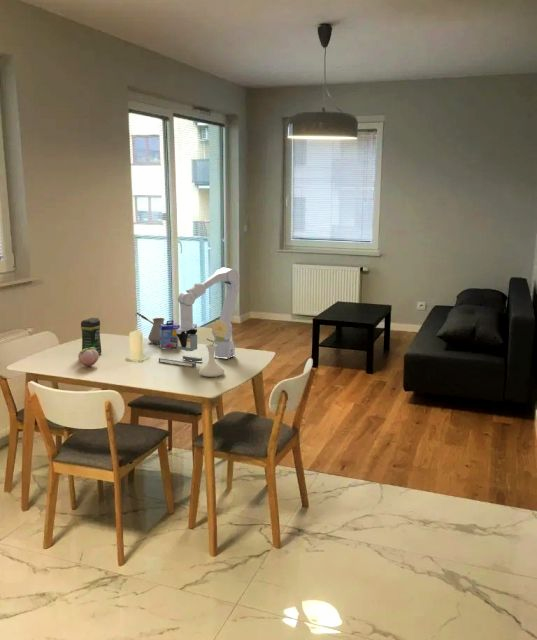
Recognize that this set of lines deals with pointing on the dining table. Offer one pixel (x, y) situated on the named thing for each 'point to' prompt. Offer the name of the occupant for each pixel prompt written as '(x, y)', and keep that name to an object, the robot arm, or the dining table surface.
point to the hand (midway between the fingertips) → (187, 345)
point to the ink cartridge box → (168, 334)
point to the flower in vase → (212, 367)
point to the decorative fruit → (88, 356)
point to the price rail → (182, 361)
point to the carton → (188, 343)
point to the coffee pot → (154, 328)
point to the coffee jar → (91, 334)
